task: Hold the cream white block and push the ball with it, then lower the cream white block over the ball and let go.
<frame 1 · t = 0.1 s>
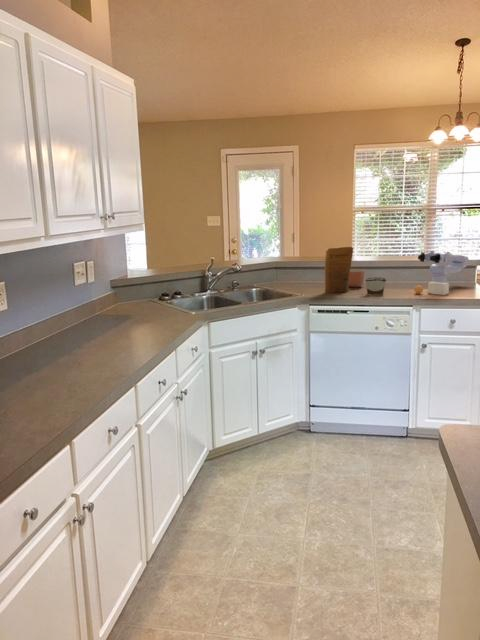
hand: (424, 257, 310), 22 cm above the counter, tool horizontal, fingers open, 7 cm apart
food container: (374, 294, 315), on the counter
cream white block: (438, 293, 314), on the counter
ball: (418, 289, 313), on the counter
planter: (354, 287, 343), on the counter
pancake mix bag: (337, 292, 323), on the counter
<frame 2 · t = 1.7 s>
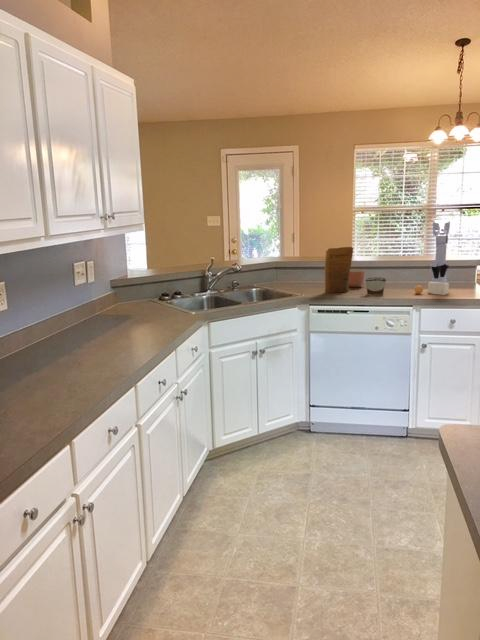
hand: (439, 277, 311), 10 cm above the counter, tool pointing down, fingers open, 7 cm apart
nothing on the counter moved.
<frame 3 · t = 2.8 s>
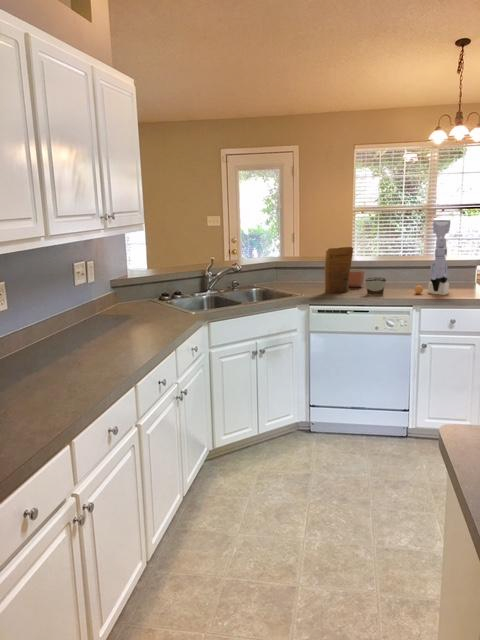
hand: (438, 290, 313), 2 cm above the counter, tool pointing down, fingers closed on cream white block, 6 cm apart
cream white block: (438, 293, 314), on the counter, touching gripper
everything else where it was.
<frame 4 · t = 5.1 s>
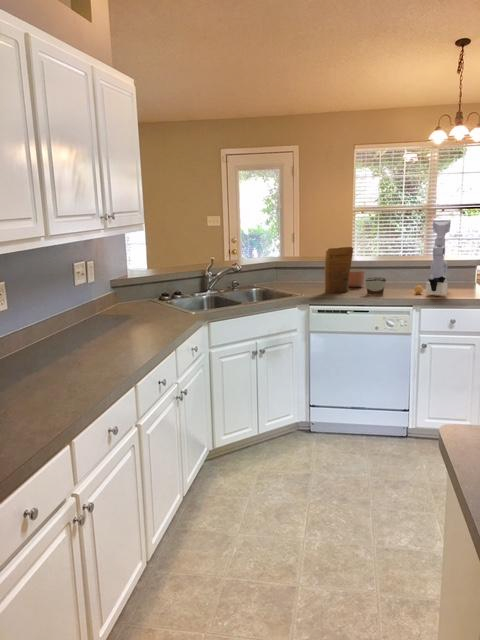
hand: (436, 290, 305), 3 cm above the counter, tool pointing down, fingers closed on cream white block, 6 cm apart
cream white block: (436, 293, 305), point 1 cm above the counter, touching gripper
everything else where it was.
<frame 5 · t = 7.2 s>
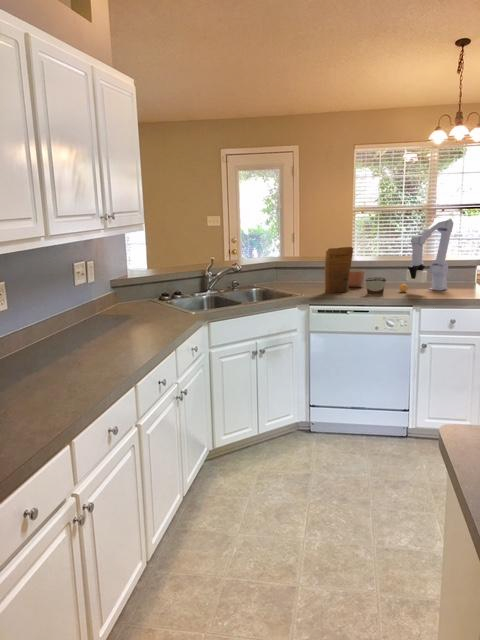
hand: (415, 277, 313), 9 cm above the counter, tool pointing down, fingers closed on cream white block, 6 cm apart
cream white block: (416, 281, 313), point 7 cm above the counter, touching gripper
ball: (403, 287, 320), on the counter
everything else where it was.
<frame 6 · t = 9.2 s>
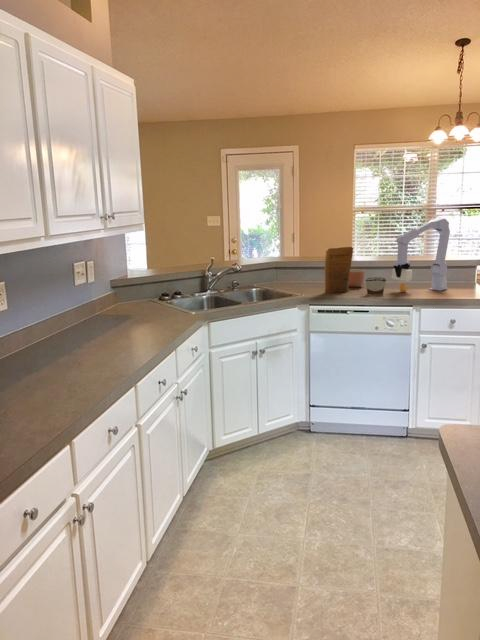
hand: (401, 276, 320), 9 cm above the counter, tool pointing down, fingers closed on cream white block, 6 cm apart
cream white block: (401, 279, 320), point 7 cm above the counter, touching gripper
everything else where it was.
when the fingers open (2 cm above the counter, at t = 11.2 s): cream white block stays where it is, on the counter.
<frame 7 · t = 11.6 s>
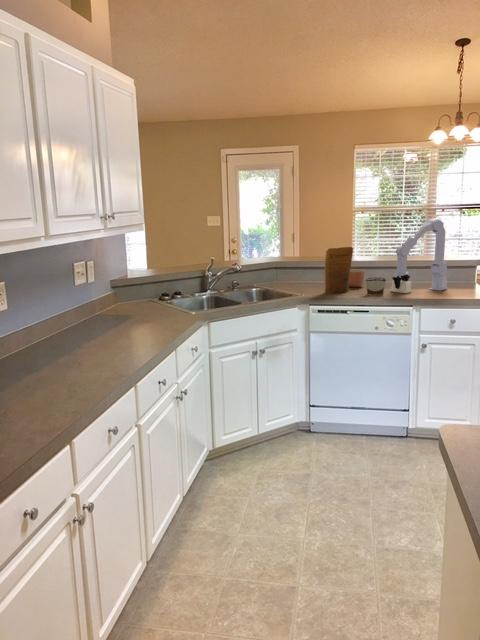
hand: (400, 287, 321), 2 cm above the counter, tool pointing down, fingers open, 7 cm apart
cream white block: (400, 291, 322), on the counter
everything else where it was.
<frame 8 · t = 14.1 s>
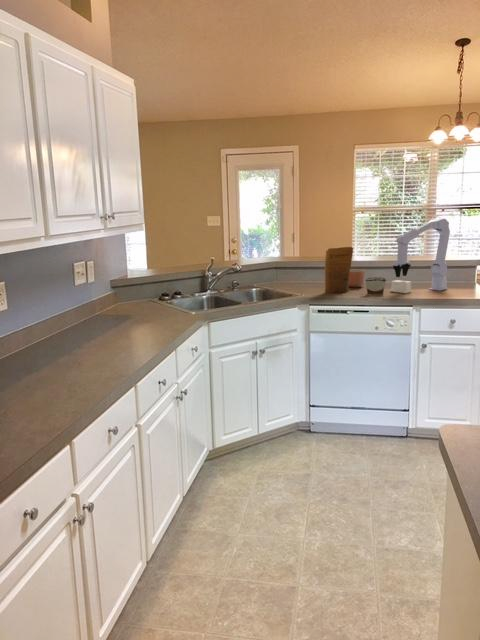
hand: (401, 276, 320), 9 cm above the counter, tool pointing down, fingers open, 7 cm apart
nothing on the counter moved.
at the end: ball 1.7 cm from the cream white block (horizontally); cream white block on the counter; ball moved 10.0 cm from its start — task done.
